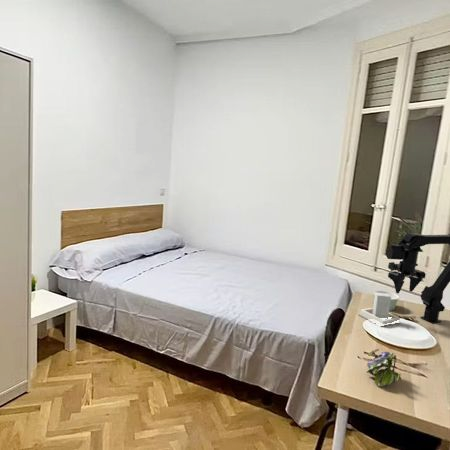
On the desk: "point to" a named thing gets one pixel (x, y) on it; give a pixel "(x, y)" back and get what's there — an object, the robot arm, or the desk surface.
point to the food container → (393, 298)
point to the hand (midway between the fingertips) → (404, 292)
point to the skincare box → (381, 305)
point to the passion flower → (380, 362)
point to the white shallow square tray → (368, 315)
